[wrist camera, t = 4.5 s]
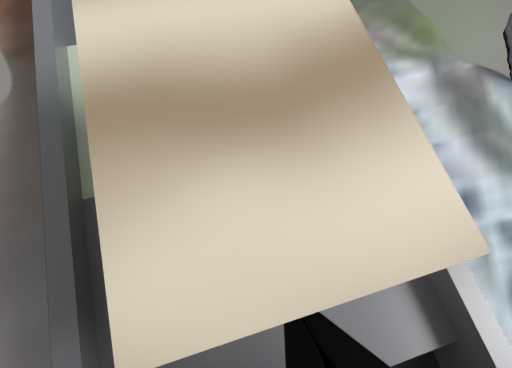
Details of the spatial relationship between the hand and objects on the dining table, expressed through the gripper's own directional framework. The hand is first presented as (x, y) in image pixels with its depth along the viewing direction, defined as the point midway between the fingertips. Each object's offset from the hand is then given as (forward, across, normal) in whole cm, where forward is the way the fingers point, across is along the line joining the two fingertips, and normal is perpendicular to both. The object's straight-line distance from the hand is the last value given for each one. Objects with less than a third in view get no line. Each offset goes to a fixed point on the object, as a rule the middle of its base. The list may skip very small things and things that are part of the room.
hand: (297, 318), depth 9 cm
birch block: (+7, 0, 0) cm, 7 cm away
